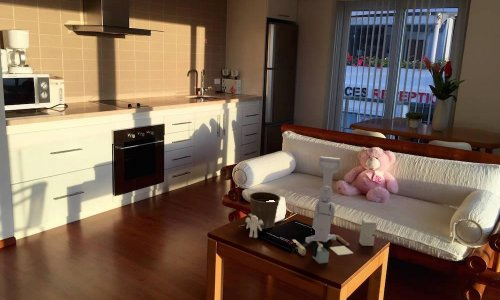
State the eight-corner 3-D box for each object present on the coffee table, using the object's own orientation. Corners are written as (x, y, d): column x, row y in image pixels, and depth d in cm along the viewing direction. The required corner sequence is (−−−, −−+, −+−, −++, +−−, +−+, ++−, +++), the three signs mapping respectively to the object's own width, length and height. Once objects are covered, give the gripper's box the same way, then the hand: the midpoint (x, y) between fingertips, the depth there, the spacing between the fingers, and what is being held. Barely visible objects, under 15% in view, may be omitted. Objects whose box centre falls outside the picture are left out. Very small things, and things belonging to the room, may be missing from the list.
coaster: (329, 248, 212) (329, 247, 212) (343, 246, 215) (344, 245, 215) (338, 255, 205) (338, 254, 205) (353, 253, 208) (353, 252, 208)
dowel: (334, 237, 226) (334, 234, 225) (336, 237, 226) (337, 234, 226) (346, 246, 215) (347, 243, 215) (349, 246, 216) (350, 243, 215)
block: (312, 257, 201) (313, 247, 200) (321, 256, 203) (322, 246, 202) (319, 263, 196) (320, 253, 195) (328, 262, 197) (329, 252, 196)
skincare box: (362, 245, 217) (365, 222, 215) (358, 242, 222) (361, 219, 219) (374, 245, 218) (377, 222, 216) (370, 242, 223) (373, 219, 220)
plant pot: (275, 233, 225) (277, 203, 222) (244, 229, 228) (246, 199, 225) (279, 222, 241) (282, 194, 238) (250, 218, 244) (252, 190, 241)
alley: (291, 245, 213) (292, 239, 212) (312, 243, 217) (313, 237, 216) (302, 255, 203) (302, 249, 202) (324, 252, 207) (325, 247, 206)
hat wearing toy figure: (243, 236, 220) (245, 213, 217) (245, 233, 223) (247, 211, 221) (261, 239, 217) (262, 216, 215) (263, 236, 221) (264, 213, 218)
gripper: (312, 232, 191) (309, 261, 194) (341, 229, 196) (337, 257, 199) (304, 226, 197) (301, 254, 200) (332, 223, 202) (329, 251, 205)
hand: (319, 255), depth 200 cm, fingers closed on block, 4 cm apart
